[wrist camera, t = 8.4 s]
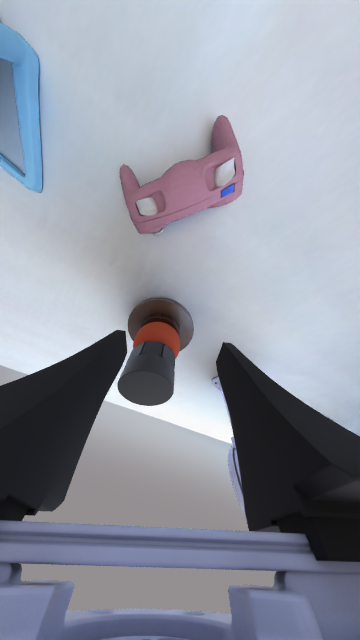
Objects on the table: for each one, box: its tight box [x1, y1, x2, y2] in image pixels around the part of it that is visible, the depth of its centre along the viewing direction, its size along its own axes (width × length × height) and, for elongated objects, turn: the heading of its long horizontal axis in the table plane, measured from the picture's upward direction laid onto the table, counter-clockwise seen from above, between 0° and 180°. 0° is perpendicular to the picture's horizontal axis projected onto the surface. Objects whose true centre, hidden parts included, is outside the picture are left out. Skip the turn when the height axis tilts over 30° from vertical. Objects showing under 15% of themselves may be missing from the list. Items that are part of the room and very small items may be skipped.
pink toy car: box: [120, 115, 244, 235], centre depth 11 cm, size 10×5×7 cm, turn 108°
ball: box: [133, 322, 180, 359], centre depth 18 cm, size 6×6×6 cm
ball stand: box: [128, 298, 193, 351], centre depth 20 cm, size 10×10×2 cm
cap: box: [118, 341, 175, 406], centre depth 14 cm, size 5×5×4 cm
